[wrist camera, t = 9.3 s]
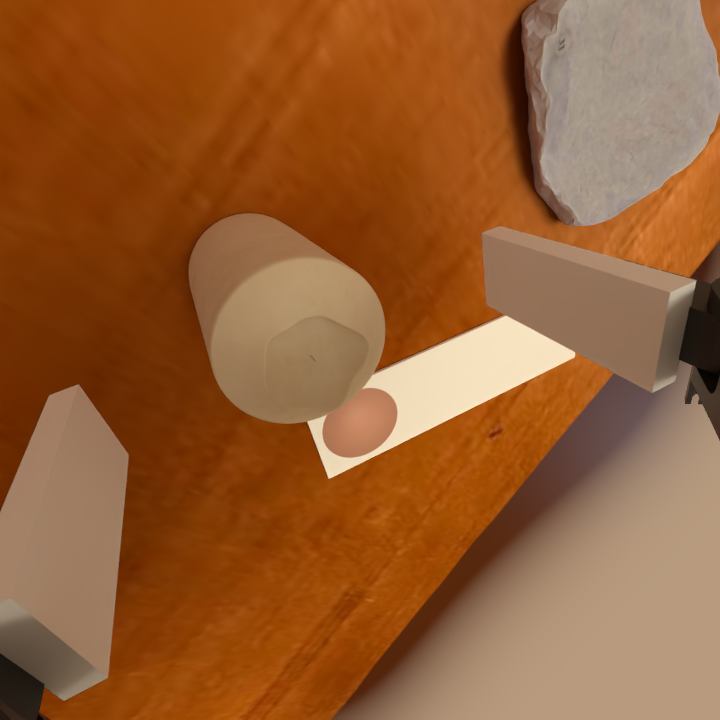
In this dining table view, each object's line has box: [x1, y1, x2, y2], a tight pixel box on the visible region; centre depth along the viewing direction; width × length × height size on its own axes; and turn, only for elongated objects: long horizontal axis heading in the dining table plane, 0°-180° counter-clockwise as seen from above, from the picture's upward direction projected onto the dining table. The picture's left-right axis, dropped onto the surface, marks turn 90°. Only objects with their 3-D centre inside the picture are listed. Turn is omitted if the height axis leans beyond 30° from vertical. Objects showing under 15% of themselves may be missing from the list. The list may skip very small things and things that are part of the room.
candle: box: [188, 213, 385, 424], centre depth 16 cm, size 6×6×10 cm
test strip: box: [307, 315, 575, 479], centre depth 28 cm, size 20×6×1 cm, turn 104°
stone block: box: [521, 0, 720, 226], centre depth 22 cm, size 12×5×10 cm
